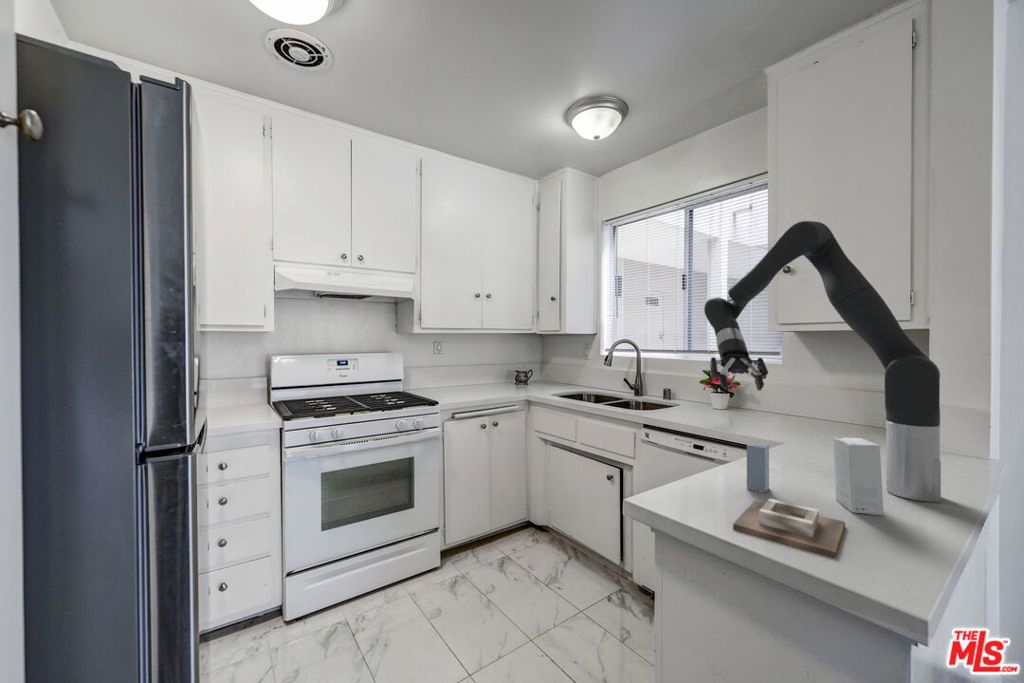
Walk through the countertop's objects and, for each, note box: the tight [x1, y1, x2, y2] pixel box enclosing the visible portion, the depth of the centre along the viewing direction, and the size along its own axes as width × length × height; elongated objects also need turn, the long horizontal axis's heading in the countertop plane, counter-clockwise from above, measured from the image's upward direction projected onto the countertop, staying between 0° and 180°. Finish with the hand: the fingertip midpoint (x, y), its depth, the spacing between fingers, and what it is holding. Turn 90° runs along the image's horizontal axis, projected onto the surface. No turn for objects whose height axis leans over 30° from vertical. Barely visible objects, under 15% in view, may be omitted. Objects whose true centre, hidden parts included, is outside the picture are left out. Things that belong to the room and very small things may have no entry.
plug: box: [746, 441, 770, 493], centre depth 103 cm, size 4×4×11 cm
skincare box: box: [833, 437, 884, 517], centre depth 92 cm, size 8×6×15 cm
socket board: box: [732, 498, 846, 558], centre depth 82 cm, size 16×16×4 cm
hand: (743, 388), depth 115 cm, fingers open, 8 cm apart
